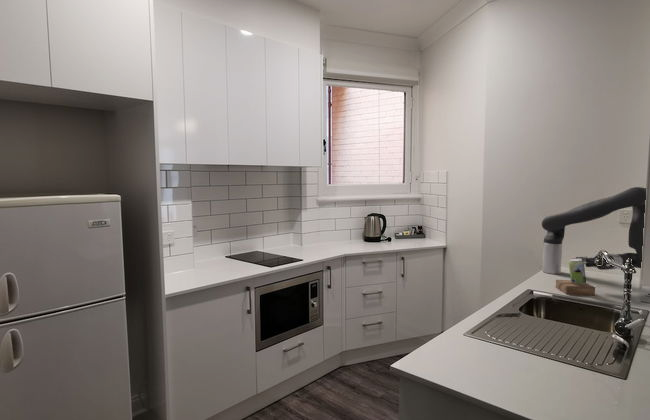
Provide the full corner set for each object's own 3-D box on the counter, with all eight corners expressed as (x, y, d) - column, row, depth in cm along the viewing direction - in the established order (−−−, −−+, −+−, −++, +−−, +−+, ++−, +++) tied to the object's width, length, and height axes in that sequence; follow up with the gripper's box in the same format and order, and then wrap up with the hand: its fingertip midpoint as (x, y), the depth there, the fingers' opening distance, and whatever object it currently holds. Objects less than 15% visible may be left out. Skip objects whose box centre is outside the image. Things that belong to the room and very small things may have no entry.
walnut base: (555, 287, 191) (556, 279, 191) (582, 288, 189) (582, 280, 189) (566, 294, 179) (566, 286, 179) (594, 296, 177) (595, 287, 177)
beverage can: (589, 285, 180) (590, 260, 179) (573, 285, 180) (574, 260, 179) (580, 282, 186) (581, 257, 185) (565, 282, 186) (566, 257, 185)
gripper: (595, 251, 193) (567, 252, 190) (622, 256, 179) (591, 257, 176) (595, 266, 193) (566, 267, 191) (621, 272, 179) (591, 274, 177)
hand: (578, 262), depth 183 cm, fingers open, 8 cm apart
